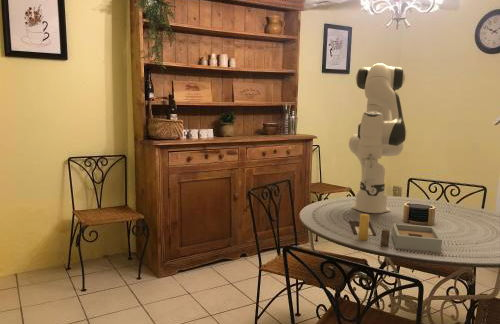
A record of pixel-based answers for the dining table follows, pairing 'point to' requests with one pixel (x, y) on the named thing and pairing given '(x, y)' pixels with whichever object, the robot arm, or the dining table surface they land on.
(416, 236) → the square frame
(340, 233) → the dining table surface
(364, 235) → the dowel
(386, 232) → the short dark dowel
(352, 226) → the chocolate bar
